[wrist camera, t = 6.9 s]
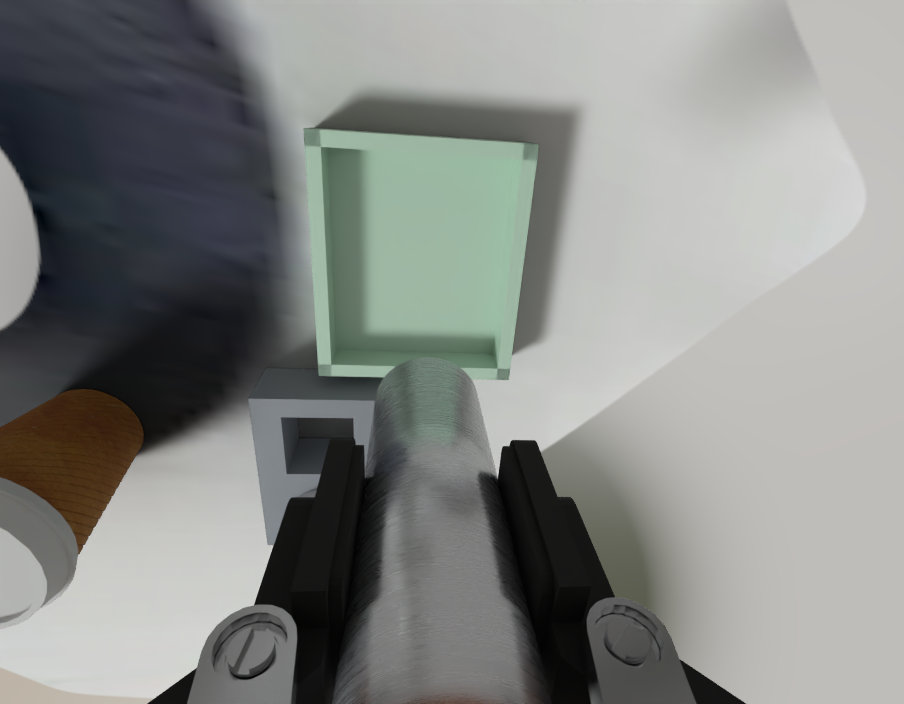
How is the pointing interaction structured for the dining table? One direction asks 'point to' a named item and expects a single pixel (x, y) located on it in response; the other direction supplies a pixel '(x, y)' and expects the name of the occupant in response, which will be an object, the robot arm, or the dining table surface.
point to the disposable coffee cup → (57, 491)
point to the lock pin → (435, 557)
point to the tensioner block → (277, 433)
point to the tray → (416, 249)
